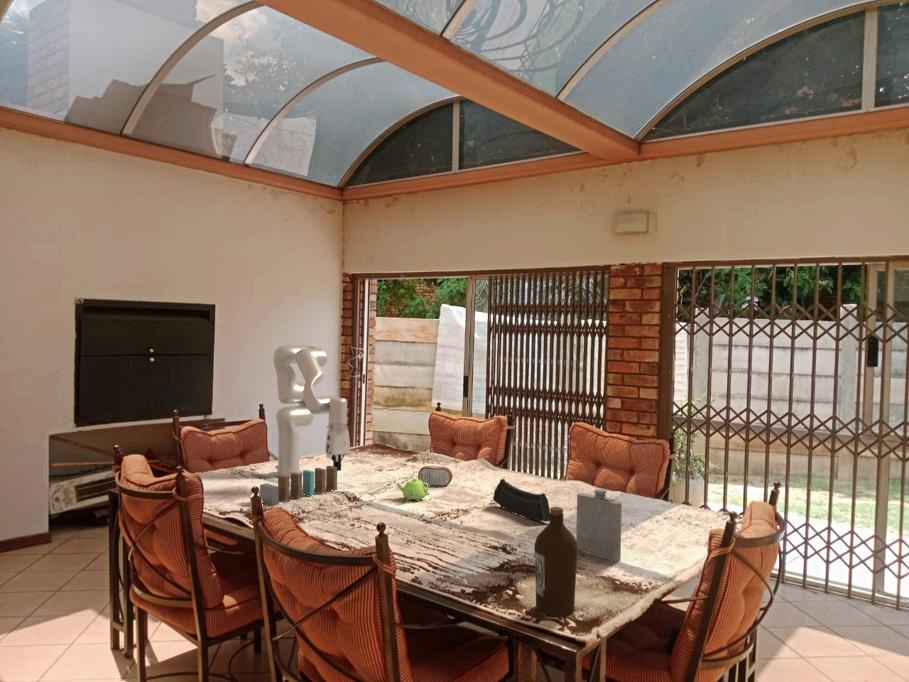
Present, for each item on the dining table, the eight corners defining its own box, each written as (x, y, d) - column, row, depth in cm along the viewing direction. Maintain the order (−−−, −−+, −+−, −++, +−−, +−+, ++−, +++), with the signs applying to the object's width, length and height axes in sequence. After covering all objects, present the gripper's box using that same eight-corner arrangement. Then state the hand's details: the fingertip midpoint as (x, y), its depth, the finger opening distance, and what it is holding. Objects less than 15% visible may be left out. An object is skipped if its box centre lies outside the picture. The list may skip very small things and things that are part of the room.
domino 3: (310, 496, 282) (310, 472, 282) (302, 494, 285) (303, 470, 285) (313, 496, 284) (314, 471, 283) (306, 494, 287) (306, 469, 287)
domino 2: (298, 499, 278) (298, 474, 277) (290, 497, 281) (290, 472, 281) (301, 498, 279) (302, 473, 279) (294, 496, 282) (294, 471, 282)
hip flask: (574, 549, 220) (575, 486, 219) (582, 546, 223) (583, 484, 222) (616, 562, 208) (617, 495, 208) (624, 559, 211) (625, 493, 210)
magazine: (556, 500, 246) (506, 461, 270) (549, 501, 244) (499, 462, 268) (546, 542, 250) (498, 501, 274) (539, 544, 249) (491, 502, 272)
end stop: (259, 502, 272) (260, 484, 272) (266, 501, 274) (266, 483, 274) (271, 506, 267) (272, 487, 267) (278, 504, 269) (278, 486, 269)
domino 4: (322, 494, 287) (322, 470, 286) (314, 492, 290) (314, 468, 290) (325, 493, 288) (325, 469, 288) (318, 491, 291) (318, 467, 291)
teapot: (433, 500, 279) (434, 479, 278) (408, 504, 272) (409, 482, 272) (419, 495, 288) (420, 474, 288) (395, 498, 282) (395, 477, 282)
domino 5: (333, 491, 291) (333, 467, 291) (326, 489, 294) (326, 466, 294) (337, 491, 293) (337, 467, 292) (329, 489, 296) (329, 465, 296)
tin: (452, 485, 306) (452, 466, 306) (451, 487, 303) (451, 468, 303) (418, 484, 307) (418, 465, 307) (417, 486, 304) (417, 466, 304)
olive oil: (569, 599, 179) (571, 502, 178) (582, 617, 168) (584, 513, 168) (529, 601, 177) (530, 503, 177) (539, 618, 167) (540, 514, 166)
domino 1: (285, 502, 273) (285, 476, 273) (277, 499, 276) (278, 474, 276) (289, 501, 274) (289, 476, 274) (281, 499, 278) (281, 474, 278)
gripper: (329, 429, 287) (329, 474, 287) (356, 426, 299) (356, 469, 299) (318, 427, 292) (317, 471, 292) (345, 424, 303) (344, 466, 304)
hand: (337, 470), depth 296 cm, fingers closed
